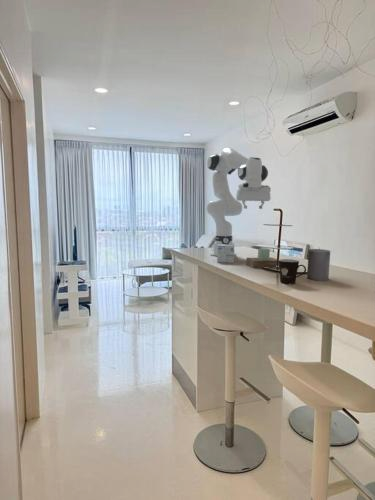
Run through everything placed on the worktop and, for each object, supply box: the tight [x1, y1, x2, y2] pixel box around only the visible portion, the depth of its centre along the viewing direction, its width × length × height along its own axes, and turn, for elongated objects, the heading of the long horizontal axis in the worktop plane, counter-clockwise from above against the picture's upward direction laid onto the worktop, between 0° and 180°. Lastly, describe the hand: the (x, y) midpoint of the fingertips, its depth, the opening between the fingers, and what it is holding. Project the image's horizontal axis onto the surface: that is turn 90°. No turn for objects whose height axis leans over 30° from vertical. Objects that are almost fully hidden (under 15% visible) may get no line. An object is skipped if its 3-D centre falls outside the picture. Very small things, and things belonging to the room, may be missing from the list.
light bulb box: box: [216, 244, 235, 264], centre depth 212 cm, size 11×7×11 cm, turn 84°
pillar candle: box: [306, 247, 331, 282], centre depth 161 cm, size 10×10×15 cm
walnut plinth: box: [245, 257, 279, 269], centre depth 197 cm, size 14×16×4 cm
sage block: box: [257, 248, 271, 260], centre depth 197 cm, size 5×5×6 cm
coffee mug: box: [278, 258, 307, 285], centre depth 150 cm, size 12×9×10 cm
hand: (253, 208), depth 203 cm, fingers open, 8 cm apart
